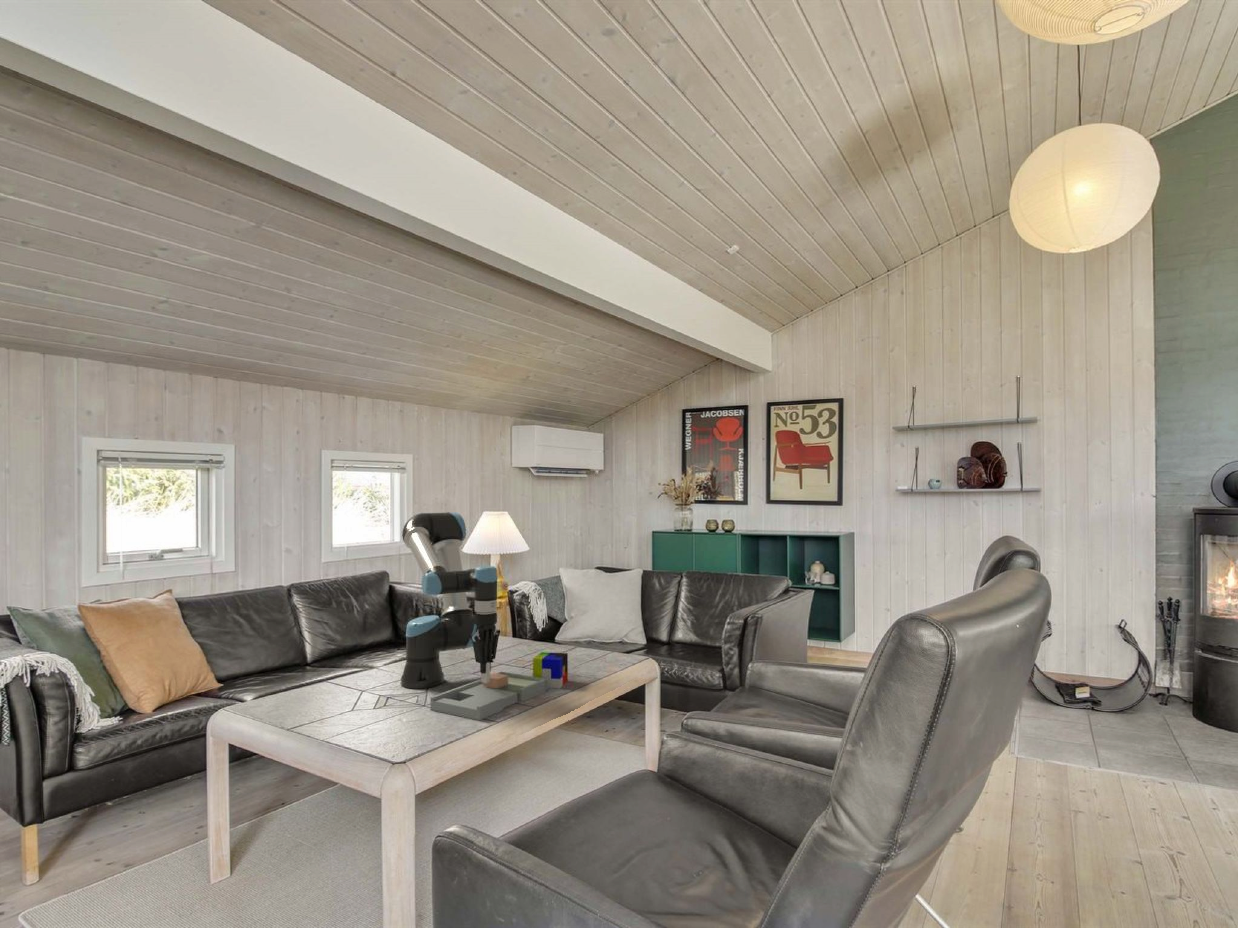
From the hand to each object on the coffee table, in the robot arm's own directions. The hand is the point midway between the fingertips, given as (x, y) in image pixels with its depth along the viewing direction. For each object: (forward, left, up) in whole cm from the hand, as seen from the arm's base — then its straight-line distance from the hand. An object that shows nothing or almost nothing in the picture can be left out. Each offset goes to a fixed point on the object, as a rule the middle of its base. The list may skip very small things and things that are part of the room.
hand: (485, 681), depth 236 cm
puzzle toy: (+10, +23, -5) cm, 26 cm away
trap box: (+4, -3, -5) cm, 7 cm away
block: (+1, +4, -2) cm, 4 cm away
